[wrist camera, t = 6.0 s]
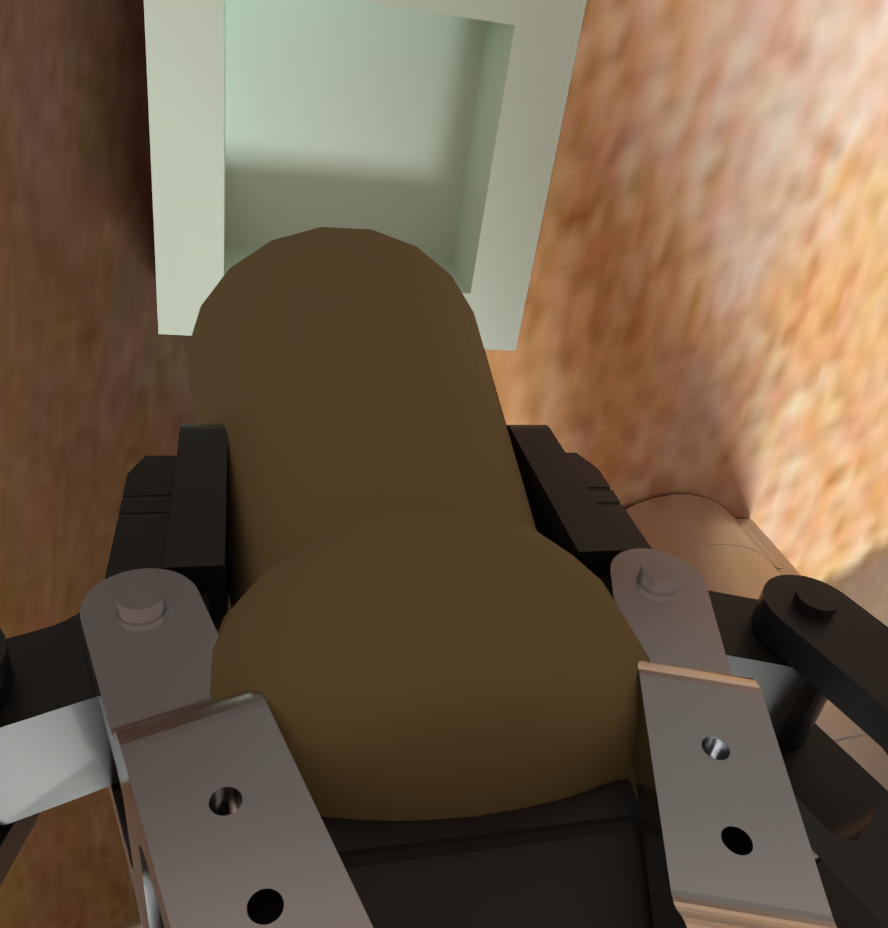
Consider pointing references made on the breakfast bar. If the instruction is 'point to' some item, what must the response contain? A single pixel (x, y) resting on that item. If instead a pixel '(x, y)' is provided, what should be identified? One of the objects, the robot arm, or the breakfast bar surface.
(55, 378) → the breakfast bar surface
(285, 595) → the cork
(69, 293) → the breakfast bar surface
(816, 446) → the breakfast bar surface
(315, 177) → the socket stand
